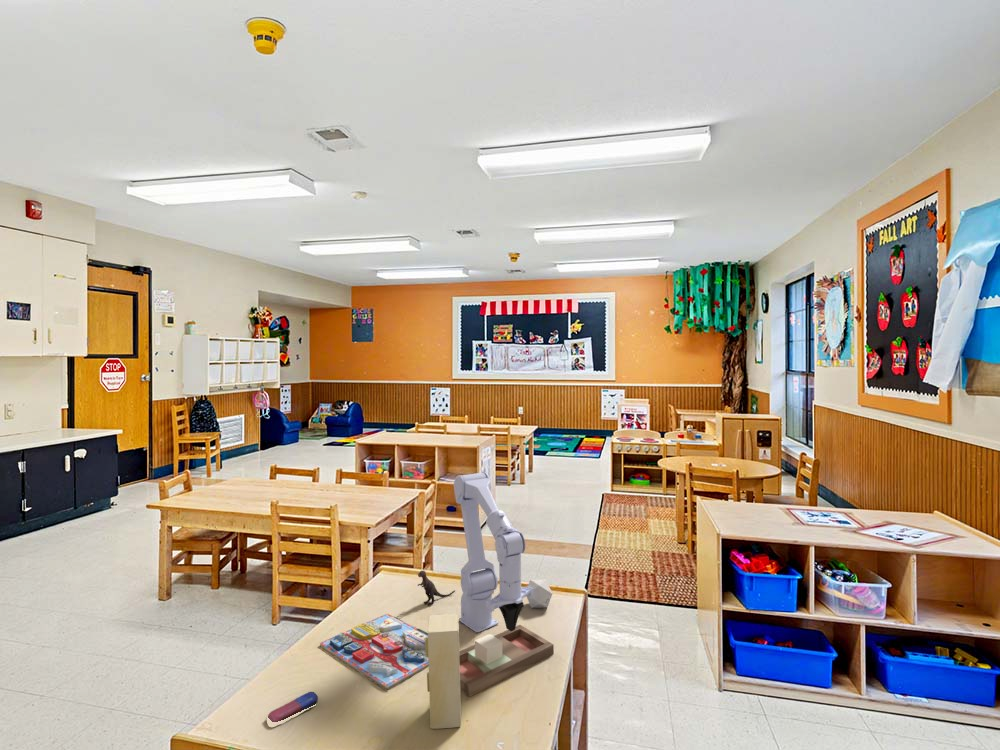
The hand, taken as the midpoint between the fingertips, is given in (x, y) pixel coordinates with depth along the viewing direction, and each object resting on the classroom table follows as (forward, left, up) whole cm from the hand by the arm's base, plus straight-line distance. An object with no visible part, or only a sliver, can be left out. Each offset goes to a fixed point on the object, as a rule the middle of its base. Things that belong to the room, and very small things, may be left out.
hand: (510, 629), depth 139 cm
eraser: (-14, -52, -8) cm, 54 cm away
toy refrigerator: (+9, -27, -7) cm, 29 cm away
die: (-15, +24, -7) cm, 30 cm away
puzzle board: (-24, -24, -8) cm, 35 cm away
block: (0, -8, -5) cm, 9 cm away
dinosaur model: (-39, +2, -7) cm, 40 cm away
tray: (0, -5, -7) cm, 8 cm away
